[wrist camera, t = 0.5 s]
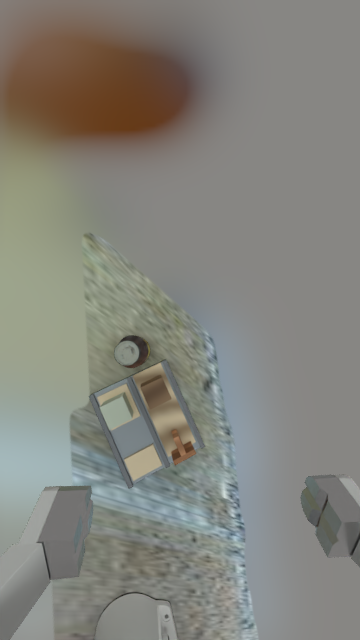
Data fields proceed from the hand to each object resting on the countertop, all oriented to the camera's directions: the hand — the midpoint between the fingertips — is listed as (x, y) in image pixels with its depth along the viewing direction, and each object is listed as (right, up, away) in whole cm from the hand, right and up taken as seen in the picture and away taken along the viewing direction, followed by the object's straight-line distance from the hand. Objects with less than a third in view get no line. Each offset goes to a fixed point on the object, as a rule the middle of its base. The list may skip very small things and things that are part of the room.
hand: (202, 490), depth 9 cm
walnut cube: (-7, -10, +46) cm, 48 cm away
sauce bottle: (-11, -1, +49) cm, 50 cm away
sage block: (-15, -13, +45) cm, 49 cm away
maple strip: (-5, -14, +47) cm, 49 cm away
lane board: (-8, -17, +47) cm, 51 cm away
